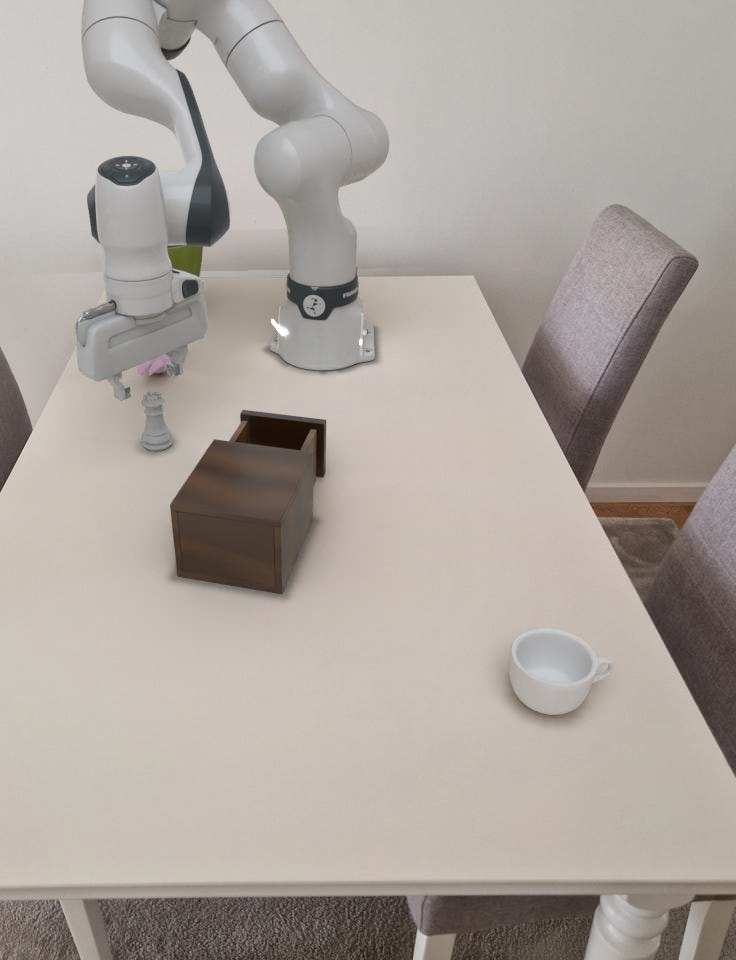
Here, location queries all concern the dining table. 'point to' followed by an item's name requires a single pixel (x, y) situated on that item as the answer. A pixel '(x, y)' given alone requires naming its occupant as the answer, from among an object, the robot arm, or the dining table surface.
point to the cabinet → (243, 515)
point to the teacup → (554, 670)
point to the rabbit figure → (155, 364)
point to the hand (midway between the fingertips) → (149, 386)
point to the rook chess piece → (155, 424)
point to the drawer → (285, 435)
